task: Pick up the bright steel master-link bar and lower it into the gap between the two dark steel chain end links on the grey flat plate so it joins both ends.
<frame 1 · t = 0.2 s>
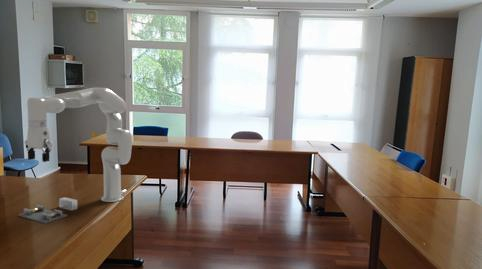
hand: (38, 160, 163), 30 cm above the table, tool pointing down, fingers open, 9 cm apart
grey flat plate: (43, 215, 174), on the table
master link: (68, 208, 187), on the table
chain ends: (42, 212, 174), on the grey flat plate, point 1 cm above the table
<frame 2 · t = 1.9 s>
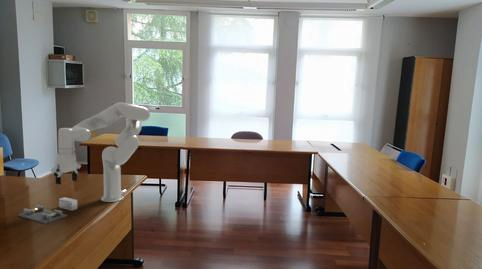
hand: (66, 182, 185), 14 cm above the table, tool pointing down, fingers open, 9 cm apart
nothing on the table moved.
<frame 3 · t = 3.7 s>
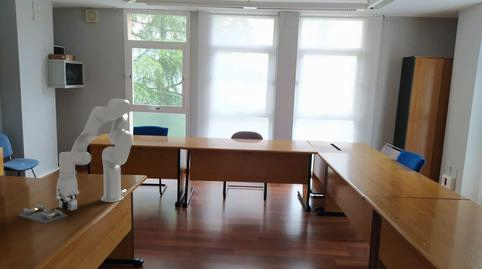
hand: (68, 207, 187), 0 cm above the table, tool pointing down, fingers closed on master link, 3 cm apart
master link: (68, 208, 187), on the table, touching gripper
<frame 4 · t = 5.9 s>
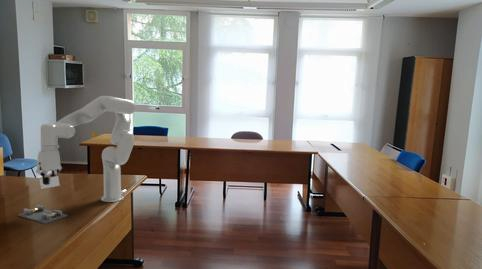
hand: (49, 183, 176), 16 cm above the table, tool pointing down, fingers closed on master link, 3 cm apart
master link: (50, 187, 176), point 14 cm above the table, tilted 15°, touching gripper
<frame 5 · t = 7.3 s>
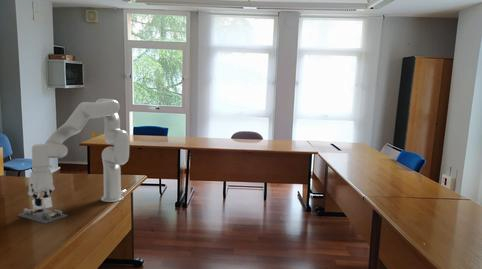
hand: (42, 204, 174), 6 cm above the table, tool pointing down, fingers closed on master link, 3 cm apart
master link: (43, 208, 173), point 4 cm above the table, tilted 15°, touching gripper
when the fingers open (3 cm above the table, at t = 8.3 s): master link stays where it is, resting on grey flat plate.
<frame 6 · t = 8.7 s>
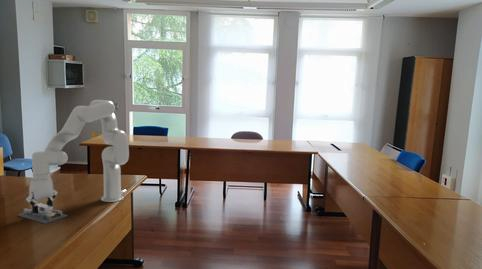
hand: (42, 210, 174), 3 cm above the table, tool pointing down, fingers open, 7 cm apart
master link: (43, 215, 174), point 1 cm above the table, touching grey flat plate
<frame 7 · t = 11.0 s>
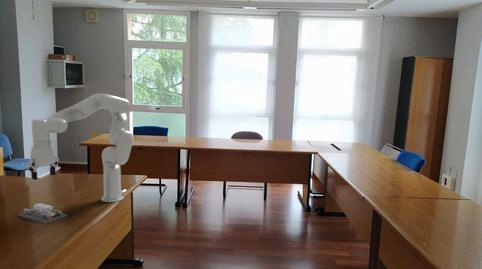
hand: (44, 177, 174), 20 cm above the table, tool pointing down, fingers open, 9 cm apart
nothing on the table moved.
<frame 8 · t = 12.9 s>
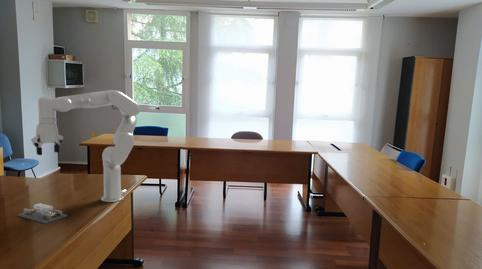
hand: (48, 153, 181), 30 cm above the table, tool pointing down, fingers open, 9 cm apart
nothing on the table moved.
at the end: master link 0.8 cm off-centre on the chain ends, point 0.6 cm above the chain ends's base; master link tilted 0°; the gripper is holding nothing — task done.
